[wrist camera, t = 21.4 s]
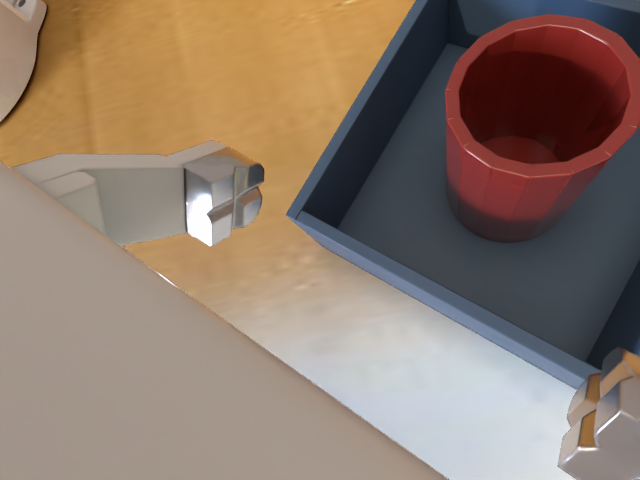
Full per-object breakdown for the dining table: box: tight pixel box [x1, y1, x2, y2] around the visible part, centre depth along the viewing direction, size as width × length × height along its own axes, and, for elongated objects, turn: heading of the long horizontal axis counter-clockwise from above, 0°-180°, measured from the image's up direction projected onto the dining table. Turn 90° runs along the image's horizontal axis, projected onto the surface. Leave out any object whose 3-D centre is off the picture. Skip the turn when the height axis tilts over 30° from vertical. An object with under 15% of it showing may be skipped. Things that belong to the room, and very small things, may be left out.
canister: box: [445, 14, 640, 243], centre depth 19 cm, size 6×6×9 cm
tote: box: [286, 0, 640, 390], centre depth 21 cm, size 15×15×6 cm
